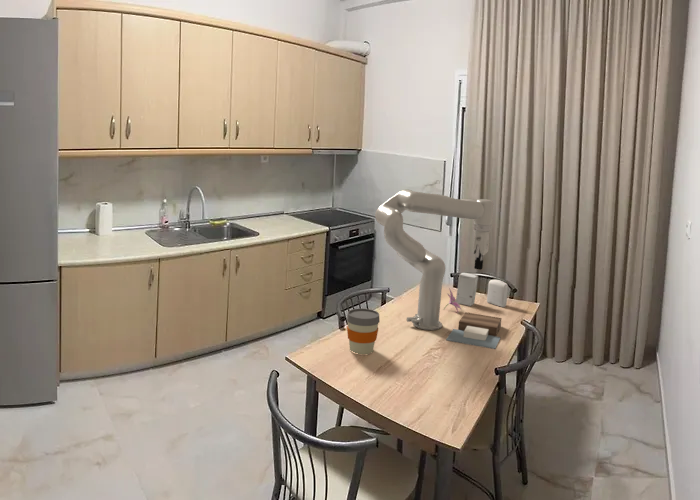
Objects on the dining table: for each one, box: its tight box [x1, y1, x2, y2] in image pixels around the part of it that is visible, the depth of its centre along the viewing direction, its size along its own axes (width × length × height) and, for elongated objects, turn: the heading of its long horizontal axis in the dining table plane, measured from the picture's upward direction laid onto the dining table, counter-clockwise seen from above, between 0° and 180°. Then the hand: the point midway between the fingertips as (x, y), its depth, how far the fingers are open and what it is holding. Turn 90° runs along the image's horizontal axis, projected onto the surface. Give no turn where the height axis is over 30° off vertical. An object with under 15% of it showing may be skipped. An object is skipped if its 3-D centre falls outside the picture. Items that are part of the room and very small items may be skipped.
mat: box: [445, 328, 501, 350], centre depth 251 cm, size 14×20×1 cm
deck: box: [457, 311, 502, 336], centre depth 264 cm, size 14×16×4 cm
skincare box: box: [455, 272, 479, 307], centre depth 297 cm, size 8×6×15 cm
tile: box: [463, 325, 489, 341], centre depth 253 cm, size 8×9×2 cm
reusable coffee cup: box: [346, 308, 380, 355], centre depth 231 cm, size 13×13×15 cm
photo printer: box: [486, 279, 509, 308], centre depth 298 cm, size 10×4×12 cm, turn 39°
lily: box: [443, 287, 462, 313], centre depth 286 cm, size 12×12×10 cm
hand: (478, 268), depth 266 cm, fingers closed
